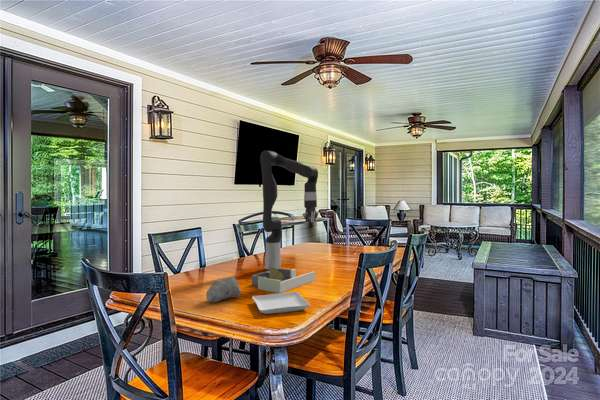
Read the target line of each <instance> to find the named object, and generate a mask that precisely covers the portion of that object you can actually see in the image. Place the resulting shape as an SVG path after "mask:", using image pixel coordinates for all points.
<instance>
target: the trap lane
mask: <svg viewBox="0 0 600 400" xmlns="http://www.w3.org/2000/svg"><path fill="white" fill-rule="evenodd" d="M277 270H279V271H280V272H281V273H282V275H283V276H284V277H285V278H286V280H285V281H281V280H275V279H269V274H270V271H271V270H267V271H264V272H259V273H256V274H252V275H251V285H252V286H257V289H258V290H260V291H267V292H271V293H275V294H278V293H285V292H287V291H290V290H292V289H295V288H298V287H302V286H304V285H307V284H309V283H312V282H315V281H316V271H310V272H308V273H304V274H301V275H299V276H298V275H297V269H296V268H292V269H287V268H282V267H281V268H278V269H277Z"/></svg>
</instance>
